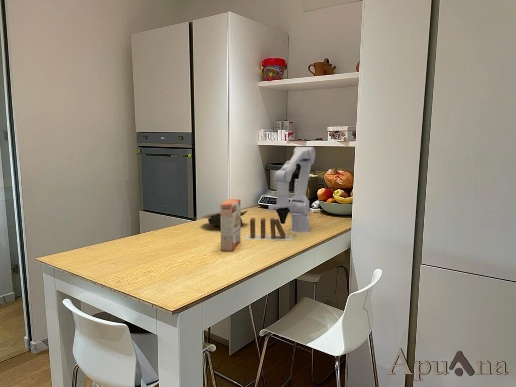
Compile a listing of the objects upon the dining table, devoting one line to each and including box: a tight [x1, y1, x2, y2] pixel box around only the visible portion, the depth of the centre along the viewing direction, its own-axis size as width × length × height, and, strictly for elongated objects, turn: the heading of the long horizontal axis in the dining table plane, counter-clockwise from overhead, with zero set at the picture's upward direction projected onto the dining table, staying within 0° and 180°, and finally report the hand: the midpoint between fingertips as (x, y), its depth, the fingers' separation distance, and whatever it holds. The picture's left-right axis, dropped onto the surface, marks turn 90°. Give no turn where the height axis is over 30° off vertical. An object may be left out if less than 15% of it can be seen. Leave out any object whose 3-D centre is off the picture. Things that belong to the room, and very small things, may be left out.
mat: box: [243, 234, 293, 241], centre depth 190 cm, size 23×9×1 cm, turn 84°
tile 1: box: [274, 218, 286, 239], centre depth 189 cm, size 2×5×9 cm, turn 174°
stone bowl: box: [202, 210, 248, 227], centre depth 216 cm, size 25×25×9 cm
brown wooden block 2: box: [260, 217, 266, 239], centre depth 190 cm, size 2×5×9 cm, turn 174°
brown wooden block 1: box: [249, 217, 256, 239], centre depth 190 cm, size 2×5×9 cm, turn 174°
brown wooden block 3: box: [269, 217, 277, 239], centre depth 189 cm, size 2×5×9 cm, turn 174°
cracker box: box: [219, 198, 241, 252], centre depth 175 cm, size 14×6×21 cm, turn 168°
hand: (282, 223), depth 188 cm, fingers closed
